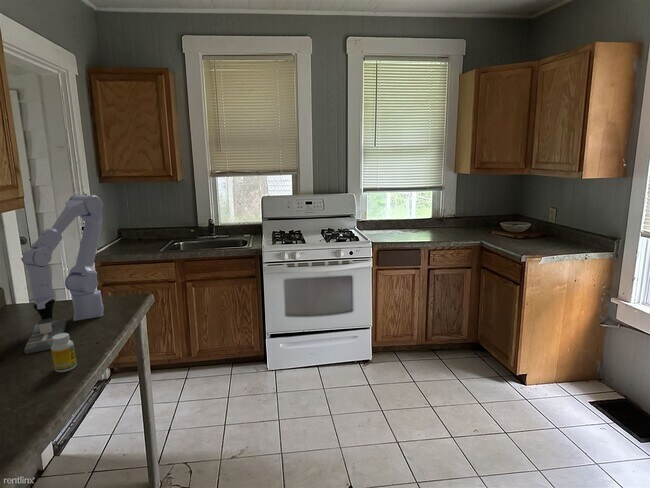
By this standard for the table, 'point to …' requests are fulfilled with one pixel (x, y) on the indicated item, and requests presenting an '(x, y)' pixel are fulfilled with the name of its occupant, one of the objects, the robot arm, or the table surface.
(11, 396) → the table surface
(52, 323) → the console
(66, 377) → the table surface
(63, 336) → the supplement bottle
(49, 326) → the fader tab
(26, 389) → the table surface
